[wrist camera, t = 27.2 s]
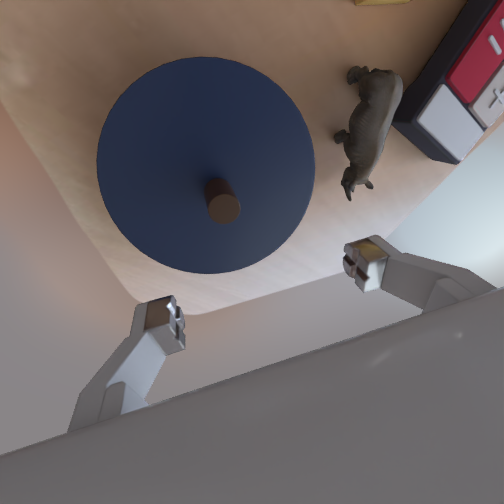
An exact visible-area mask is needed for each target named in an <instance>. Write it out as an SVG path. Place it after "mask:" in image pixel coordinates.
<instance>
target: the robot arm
mask: <svg viewBox="0 0 504 504" xmlns="http://www.w3.org/2000/svg"><path fill="white" fill-rule="evenodd" d="M344 252H345V253H346V255H345V256H344V258H343V267H344V270H345V272H346V273H347V274H348V275H349V276H350V277H352V278H354V279H355V283H356V285H357V286H358V287H359V288H360V289H361V290H362V291H363V293H364V292H368V291H371V290H375V289H378V288H381V289H382V290H384V291H386V292H388V293H391V294H392V295H395V296H397V297H399V298H401V299H403V300H405V301H407V302H409V303H411V304H413V305H415V306H417V307H419V308H421V309H423V311H422V314H420V315H417V316H414V317H411V318H408V319H405V320H402V321H399V322H397V323H393V324H390V325H388V326H385V327H381V328H378V329H376V330H372V331H370V332H366V333H363V334H361V335H358V336H355V337H352V338H349V339H346V340H343V341H340V342H337V343H334V344H331V345H328V346H325V347H322V348H319V349H316V350H313V351H310V352H307V353H304V354H301V355H298V356H295V357H292V358H289V359H286V360H283V361H280V362H277V363H274V364H271V365H268V366H265V367H262V368H259V369H256V370H253V371H250V372H247V373H244V374H241V375H238V376H235V377H232V378H229V379H226V380H223V381H220V382H217V383H214V384H211V385H208V386H205V387H202V388H199V389H196V390H193V391H190V392H187V393H184V394H181V395H179V396H175V397H172V398H169V399H166V400H163V401H161V402H157V403H154V404H151V405H149V404H148V403H147V402H146V401H145V400H144V399H145V397H146V395H147V393H148V391H149V389H150V387H151V385H152V383H153V381H154V379H155V377H156V375H157V373H158V372H159V370H160V368H161V366H162V364H163V362H164V360H165V358H166V356H167V355H170V354H173V353H176V352H179V351H182V350H184V349H185V335H184V333H183V329H184V328H185V320H184V315H183V312H182V310H181V308H180V307H179V306H176V299H175V297H174V296H173V295H170V296H166V297H163V298H159V299H155V300H152V301H149V302H145V303H141V304H138V305H137V306H136V308H135V312H134V317H133V322H132V326H131V331H130V336H129V337H127V338H125V339H124V341H123V342H122V343H121V344H120V345H119V347H118V348H117V349H116V350H115V352H114V353H113V354H112V355H111V356H110V358H109V359H108V360H107V361H106V362H105V364H104V365H103V366H102V367H101V368H100V370H99V371H98V372H97V373H96V375H95V376H94V377H93V378H92V380H91V381H90V382H89V383H88V384H87V385H86V387H85V388H84V389H83V390H82V392H81V393H80V394H79V397H78V400H77V404H76V406H75V409H74V413H73V416H72V419H71V422H70V425H69V428H68V431H67V433H65V434H61V435H58V436H55V437H52V438H50V439H46V440H44V441H41V442H38V443H35V444H32V445H29V446H26V447H23V448H20V449H17V450H14V451H11V452H8V453H5V454H2V455H0V504H504V287H501V288H496V287H494V286H493V285H491V284H490V283H488V282H487V281H485V280H483V279H482V278H480V277H479V276H478V275H476V274H474V273H473V272H471V271H470V270H468V269H465V268H461V267H457V266H454V265H450V264H446V263H442V262H439V261H435V260H431V259H427V258H424V257H420V256H416V255H412V254H409V253H401V252H399V251H398V250H397V249H396V248H394V247H393V246H392V245H390V244H389V243H388V242H386V241H385V240H384V239H382V238H381V237H380V236H378V235H373V236H370V237H367V238H364V239H360V240H357V241H354V242H351V243H347V244H345V246H344Z"/></svg>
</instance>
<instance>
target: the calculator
mask: <svg viewBox="0 0 504 504" xmlns="http://www.w3.org/2000/svg"><path fill="white" fill-rule="evenodd" d="M503 111H504V0H469V1H468V2H467V4H466V5H465V7H464V8H463V10H462V12H461V13H460V15H459V16H458V18H457V19H456V21H455V22H454V24H453V25H452V27H451V28H450V30H449V32H448V33H447V35H446V36H445V38H444V39H443V41H442V42H441V44H440V45H439V47H438V48H437V50H436V52H435V53H434V55H433V56H432V58H431V59H430V61H429V62H428V64H427V65H426V67H425V68H424V70H423V71H422V73H421V75H420V76H419V78H418V79H417V80H416V81H415V82H413V83H412V84H411V85H410V86H409V87H408V88H407V90H406V91H405V93H404V94H403V96H402V98H401V101H400V103H399V105H398V107H397V109H396V111H395V113H394V116H393V119H392V122H391V125H393V126H394V127H395V128H396V129H397V130H398V131H399V132H401V133H402V134H403V135H404V136H405V137H406V138H407V139H409V140H410V141H411V142H412V143H413V144H414V145H416V146H417V147H418V148H419V149H420V150H421V151H422V152H424V153H425V154H426V155H427V156H428V157H429V158H430V159H432V160H435V161H440V162H444V163H449V164H454V165H457V164H458V163H459V162H460V161H461V160H462V159H463V158H464V157H465V156H466V155H467V153H468V152H469V151H470V150H471V148H472V147H473V146H474V145H475V143H476V142H477V141H478V140H479V138H480V137H481V136H482V135H483V133H484V132H485V130H486V129H487V128H489V127H491V126H492V124H493V123H494V122H495V121H496V120H497V118H498V117H499V116H500V115H501V113H502V112H503Z"/></svg>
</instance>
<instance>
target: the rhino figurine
mask: <svg viewBox="0 0 504 504" xmlns="http://www.w3.org/2000/svg"><path fill="white" fill-rule="evenodd" d="M347 78H348V81H347V82H348V84H349V85H351V84H353V83H357V82H358V86H359V97H360V98H361V102H360V103H359V104H358V105H357V106H356V108H355V109H354V111H353V112H352V114H351V117H350V120H349V131H350V133H346V131H345V130H341V131H340V132H338V133H337V134H335V136H334V138H335V143H337V144H338V143H340V142H342V141H343V145H344V151H345V153H346V155H347V157H348V159H349V160H350V167H347V168H346V169H345V171H344V174H343V178H342V181H341V185H342V186H343V187H344V189H345V193H346V196H347V198H348V200H349V201H351V191H352V192H354V188H355V186H356V185H361V184H365V185H366V187H367V188H369V189H373V184H372V183H371V182H370V181H369V180H368V177H369V175H370V173H371V172H372V170H373V169H374V167H375V165H376V163H377V161H378V159H379V157H380V155H381V153H382V151H383V148H384V142H385V138H386V136H387V133H388V131H389V128H390V125H391V122H392V119H393V116H394V113H395V111H396V109H397V107H398V105H399V103H400V101H401V98H402V93H403V82H402V79H401V77H400V76H399V75H398V74H396V73H394V72H393V71H392V70H380V69H377V68H375V69H373V70H372V71H371V72H369V70H368V67H367V66H364V67H363V68H361V69H360V67H359V66H355V67H353V68H352V69H351V70H350V71H349V73H348V74H347Z"/></svg>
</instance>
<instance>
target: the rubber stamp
mask: <svg viewBox="0 0 504 504" xmlns="http://www.w3.org/2000/svg"><path fill="white" fill-rule="evenodd" d="M409 1H411V0H355V5H377V4H401V3H406V2H409Z"/></svg>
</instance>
